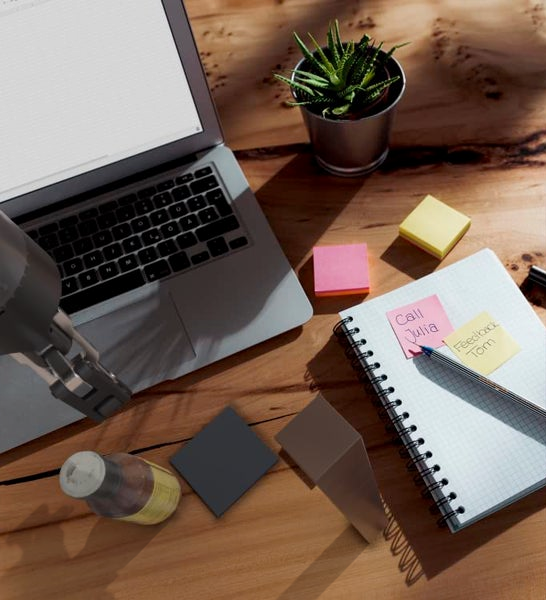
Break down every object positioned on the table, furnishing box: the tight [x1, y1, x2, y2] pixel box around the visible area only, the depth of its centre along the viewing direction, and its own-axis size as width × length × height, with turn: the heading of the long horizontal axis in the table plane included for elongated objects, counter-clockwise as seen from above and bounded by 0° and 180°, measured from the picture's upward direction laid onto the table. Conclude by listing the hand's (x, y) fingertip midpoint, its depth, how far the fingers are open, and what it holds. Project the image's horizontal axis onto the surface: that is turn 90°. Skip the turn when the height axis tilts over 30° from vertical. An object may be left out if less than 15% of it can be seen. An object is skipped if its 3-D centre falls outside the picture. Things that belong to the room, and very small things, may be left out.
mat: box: [168, 405, 280, 518], centre depth 76 cm, size 9×9×1 cm
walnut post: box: [273, 393, 390, 544], centre depth 52 cm, size 3×3×46 cm
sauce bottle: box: [58, 450, 183, 526], centre depth 66 cm, size 6×6×20 cm
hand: (87, 361), depth 50 cm, fingers open, 8 cm apart
